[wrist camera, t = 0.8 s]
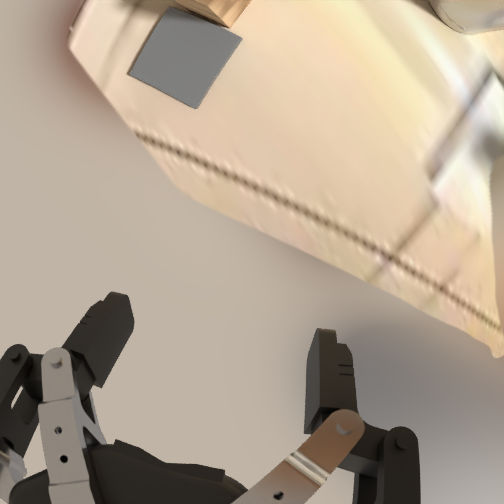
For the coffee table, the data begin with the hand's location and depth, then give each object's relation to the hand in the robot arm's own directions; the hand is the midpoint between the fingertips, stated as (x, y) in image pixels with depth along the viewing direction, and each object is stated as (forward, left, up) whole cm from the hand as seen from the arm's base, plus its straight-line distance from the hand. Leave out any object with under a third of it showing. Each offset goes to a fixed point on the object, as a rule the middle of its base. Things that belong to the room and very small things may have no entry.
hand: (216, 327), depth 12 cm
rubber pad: (-7, -16, -26) cm, 31 cm away
